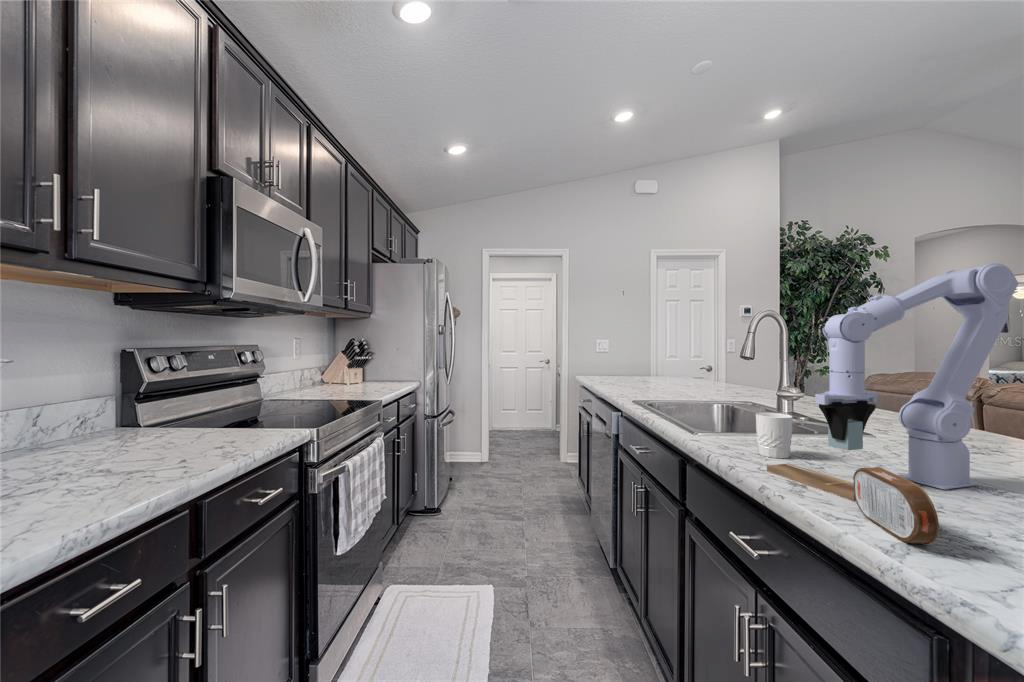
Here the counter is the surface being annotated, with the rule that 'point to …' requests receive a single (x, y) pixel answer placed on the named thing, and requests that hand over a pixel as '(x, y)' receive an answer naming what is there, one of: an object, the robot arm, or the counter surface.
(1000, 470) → the counter surface
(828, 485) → the walnut board
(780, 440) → the white cup
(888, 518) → the tin
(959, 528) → the counter surface
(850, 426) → the block
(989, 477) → the counter surface
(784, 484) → the counter surface
